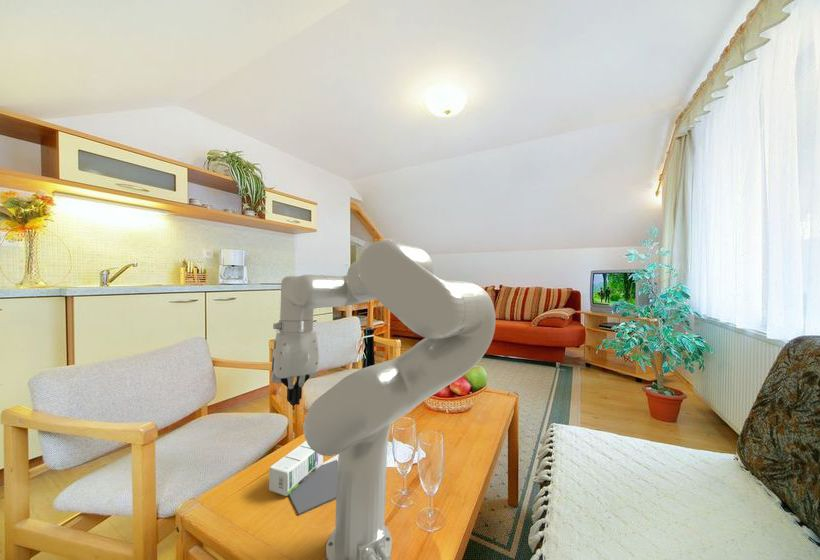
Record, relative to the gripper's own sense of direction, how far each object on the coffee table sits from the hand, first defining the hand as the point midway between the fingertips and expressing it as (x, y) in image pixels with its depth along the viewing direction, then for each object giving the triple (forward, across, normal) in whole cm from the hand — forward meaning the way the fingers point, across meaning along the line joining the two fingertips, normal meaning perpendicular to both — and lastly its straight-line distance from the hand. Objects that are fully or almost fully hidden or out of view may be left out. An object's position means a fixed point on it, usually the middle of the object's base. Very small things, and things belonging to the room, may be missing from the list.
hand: (294, 403), depth 70 cm
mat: (+22, +7, +1) cm, 23 cm away
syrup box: (+19, -3, +3) cm, 19 cm away
